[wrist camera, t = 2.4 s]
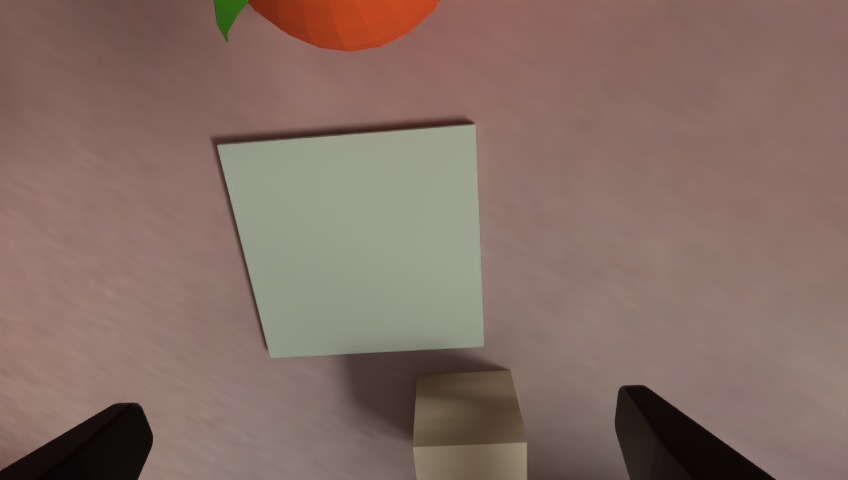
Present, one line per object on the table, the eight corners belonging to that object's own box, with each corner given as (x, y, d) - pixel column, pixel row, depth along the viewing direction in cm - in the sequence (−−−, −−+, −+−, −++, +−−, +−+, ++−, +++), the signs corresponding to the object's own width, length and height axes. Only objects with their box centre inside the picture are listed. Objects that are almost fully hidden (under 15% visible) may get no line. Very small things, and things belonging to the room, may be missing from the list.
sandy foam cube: (424, 443, 24) (422, 525, 20) (417, 373, 22) (412, 447, 18) (511, 440, 24) (526, 522, 20) (510, 369, 22) (526, 442, 18)
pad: (273, 352, 22) (270, 358, 22) (221, 143, 18) (216, 145, 18) (483, 341, 22) (484, 346, 21) (474, 123, 18) (475, 124, 17)
